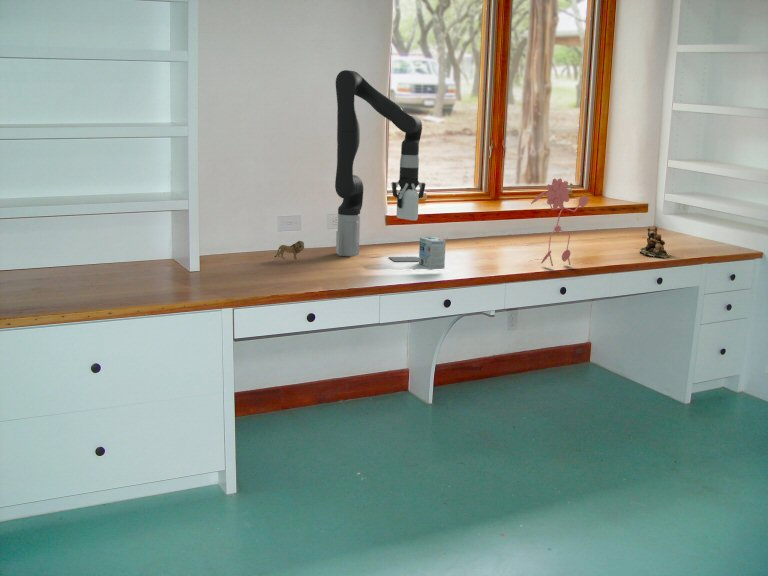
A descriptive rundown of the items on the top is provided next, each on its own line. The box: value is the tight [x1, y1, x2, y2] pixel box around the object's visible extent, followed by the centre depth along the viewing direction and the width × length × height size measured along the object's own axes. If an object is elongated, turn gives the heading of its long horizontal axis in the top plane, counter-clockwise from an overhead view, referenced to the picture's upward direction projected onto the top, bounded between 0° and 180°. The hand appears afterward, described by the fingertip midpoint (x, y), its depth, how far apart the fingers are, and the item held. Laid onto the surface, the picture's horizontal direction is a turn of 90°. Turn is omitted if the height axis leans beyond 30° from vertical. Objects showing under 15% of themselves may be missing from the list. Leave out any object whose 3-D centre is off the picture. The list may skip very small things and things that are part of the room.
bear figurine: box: [639, 227, 671, 259], centre depth 403 cm, size 14×15×12 cm
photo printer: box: [396, 189, 420, 221], centre depth 364 cm, size 10×4×12 cm, turn 39°
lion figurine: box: [274, 240, 305, 260], centre depth 362 cm, size 12×4×7 cm, turn 94°
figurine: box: [528, 177, 589, 267], centre depth 369 cm, size 15×26×35 cm, turn 118°
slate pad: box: [388, 256, 419, 263], centre depth 368 cm, size 12×10×1 cm
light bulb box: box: [418, 236, 447, 269], centre depth 357 cm, size 11×7×11 cm, turn 23°
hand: (407, 207), depth 364 cm, fingers closed on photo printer, 5 cm apart
